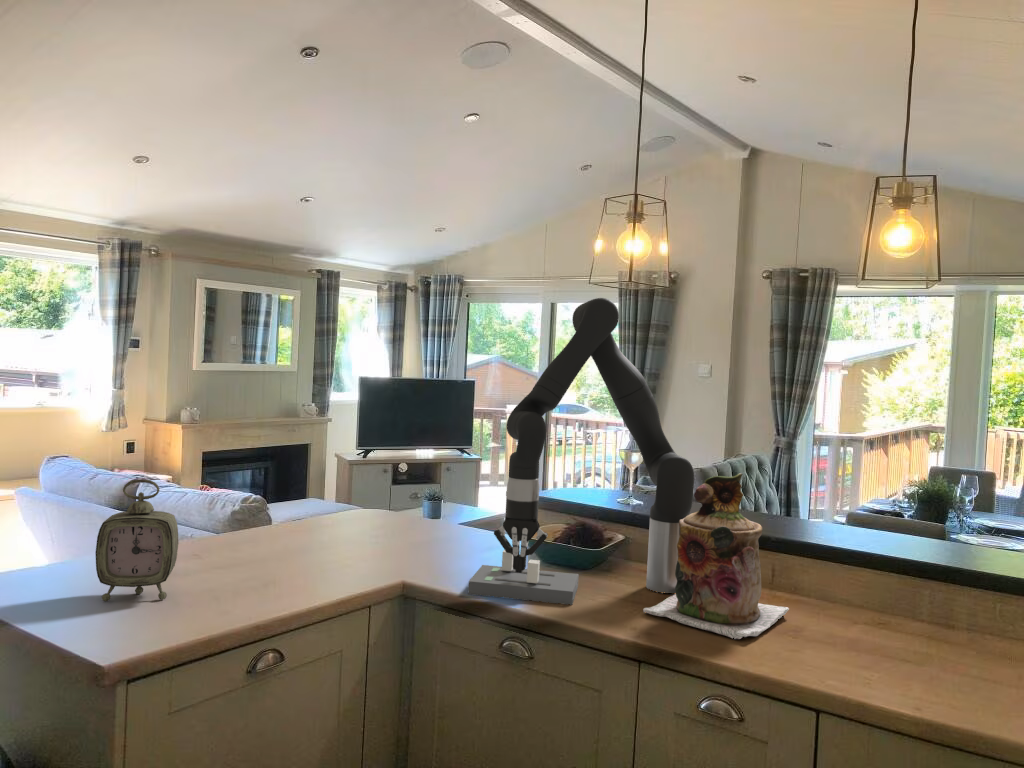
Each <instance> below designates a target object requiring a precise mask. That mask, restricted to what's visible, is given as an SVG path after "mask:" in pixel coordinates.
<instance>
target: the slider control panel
mask: <svg viewBox="0 0 1024 768" xmlns="http://www.w3.org/2000/svg"><path fill="white" fill-rule="evenodd" d="M579 576H580V575H579V573H571V572H562V571H561V572H560V571H549V570H540V569H539V581H538V583H529V582H527V568H525V569H524V570H523V571H522V573H519V572H515V569H513V570H512V571H504V570H502V566H497V565H489V564H481V566H480V567H479V568H478V570H477V571H475V573H474V574H473V576H472V577H471V578H470V579H469V580H468V588H467V594H468V595H471V596H472V595H473V596H474V595H475V596H481V595H482V596H483V597H491V596H494V597H493V598H500V597H504V598H503V599H510V598H513V599H512V600H519V599H522V601H529V600H532V601H531V602H539V601H542V603H548V602H549V604H550V603H551V604H558V603H561V604H560V605H568V604H570V605H569V606H573V604H574V601H575V597H576V594H577V591H578V588H579Z"/></svg>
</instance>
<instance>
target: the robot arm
mask: <svg viewBox="0 0 1024 768" xmlns="http://www.w3.org/2000/svg"><path fill="white" fill-rule="evenodd" d="M619 313H620V312H619V310H618V307H617V305H616V304H615V303H614V301H612V300H611V299H609V298H604V297H598V298H597V297H596V298H593V299H591V300H587V301H585V302H584V303H582V304H580V305H578V306H577V307H576V308H575V310H574V311H573V314H572V326H573V329H574V331H575V332H574V334H573V336H572V337H571V339H570V340H569V341H568V342H567V344H566V345H565V346H564V347H563V348H562V350H561V351H560V352H559V353H558V354H557V355H556V357H555V358H553V360H552V361H551V362H550V363H549V364H548V366H547V367H546V368H545V370H544V371H543V372H542V374H541V375H540V377H539V378H538V380H537V381H536V383H535V384H534V385H533V387H532V389H531V391H530V392H529V393H528V394H527V395H526V396H524V398H523V399H522V400H521V401H520V402H519V403H518V404H517V405H516V406H515V408H514V409H513V410H512V411H511V412H510V414H509V416H508V418H507V420H506V425H505V426H506V432H507V433H508V435H509V437H511V438H512V439H514V440H516V441H517V444H516V450H515V451H514V452H513V453H511V454H510V456H509V460H508V475H507V476H508V480H507V484H506V492H505V498H506V500H505V515H504V516H505V517H504V521H503V522H502V525H501V526H500V527H499V528H496V529H495V530H494V531H493V536H494V537H495V538H496V539H497V541H498V542H499V544H500V545H501V546H502V548H503V551H504V550H505V551H506V552H507V553H511V554H512V555H513V569H515V572H519V573H522V571H523V570H524V569H526V567H527V556H532V555H533V554H534V553H535V552H536V551H537V549H539V548H540V546H541V545H542V544H543V543H544V542H545V541H546V539H547V538H548V536H549V534H548V532H544V530H542V528H540V523H539V519H538V518H539V505H540V504H539V499H540V484H539V483H540V481H539V480H540V479H539V477H540V460H541V456H542V453H543V449H544V446H545V442H546V437H547V424H546V420H545V419H544V415H545V414H546V413H548V412H551V411H553V410H555V409H556V408H557V407H558V405H559V404H560V402H561V400H562V399H563V397H564V396H565V394H566V393H567V391H568V390H569V388H570V387H571V385H572V383H573V382H574V380H576V378H577V376H578V374H579V373H580V371H581V370H582V369H583V367H584V366H585V364H586V363H587V362H588V360H589V359H590V358H592V360H593V362H594V364H595V366H596V368H597V370H598V372H599V374H600V377H601V379H602V380H603V382H604V384H605V386H606V388H607V391H608V393H609V395H610V397H611V400H612V401H613V403H614V405H615V407H616V409H617V411H618V414H619V415H620V416H621V419H622V420H623V422H624V424H625V426H626V428H627V429H628V431H629V432H630V434H631V436H632V438H633V440H634V441H635V443H636V445H637V446H638V449H639V452H640V454H641V457H642V460H643V463H644V466H645V468H646V470H647V473H648V476H649V478H650V480H651V482H652V483H653V484H654V485H655V486H656V488H655V499H654V503H653V505H652V506H651V507H650V512H649V527H648V528H649V529H648V546H647V547H648V548H647V563H646V566H647V567H646V578H645V579H646V581H645V583H646V584H645V586H646V589H648V590H649V589H650V591H651V590H653V591H652V592H654V591H657V592H656V593H658V592H663V593H664V592H665V593H676V591H675V587H676V584H677V579H676V577H675V570H676V565H677V561H678V549H677V543H678V541H679V537H680V536H679V521H680V519H683V518H685V517H686V516H688V515H690V514H691V513H690V512H691V510H692V507H693V498H694V490H695V489H694V487H695V471H694V468H693V465H692V464H691V462H690V460H688V459H687V458H686V457H683V456H681V455H678V454H677V453H676V451H675V450H674V449H673V447H672V445H671V444H670V442H669V440H668V438H667V436H666V435H665V433H664V430H663V428H662V425H661V419H660V414H659V409H658V406H657V402H656V399H655V396H654V395H653V393H652V391H651V389H650V386H649V385H648V382H647V381H646V378H645V377H644V376H643V374H642V373H641V371H640V370H639V369H638V368H637V367H636V366H635V365H634V364H633V363H632V362H631V360H630V359H628V358H627V357H626V356H625V355H624V354H623V352H622V351H621V350H620V348H619V346H618V345H617V343H616V341H615V338H614V336H613V331H614V330H615V329H616V327H617V326H618V324H619V320H620V314H619ZM506 534H507V535H508V537H509V539H510V540H511V543H510V541H509V540H508V538H507V537H506V536H505V535H506ZM535 535H536V541H535V542H534V543H533V544H532V545H531V546H530V547H529V548H528V545H529V541H531V540H532V538H533V537H534V536H535ZM663 593H662V594H663Z"/></svg>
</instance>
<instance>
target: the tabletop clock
mask: <svg viewBox="0 0 1024 768" xmlns="http://www.w3.org/2000/svg"><path fill="white" fill-rule="evenodd" d="M137 483H138V484H139V483H140V484H141V483H145V484H150V485H153V486H154V488H156V492H155V493H153V494H150V495H145V493H144V492H142V491H141V492H139V493H138V494H137V495H132V494H129V493H128V492H127V491H126V489H127V487H129V486H130V485H132V484H137ZM122 492H123V495H125V496H126V498H129V499H133V500H135V501H133V502H131V503H130V504H129V506H128V507H127V509H126V511H121V512H117V513H114V514H112V515H110V516H109V517H108V518H106V519H105V520H104V521H103V522H102V523H101V525H100V527H99V529H98V533H97V538H96V546H95V568H96V574H97V575H96V576H97V579H98V580H99V582H100V584H103V585H105V586H110V587H109V588H108V591H107V592H106V593H103V594H102V595H101V600H102V601H103V602H108V601H110V600H111V597H112V596H111V593H112V592H113V590H114V588H115V587H123V588H124V587H126V588H135V587H136V588H135V589H134V593H135V594H137V595H141V594H143V592H144V587H149V586H155V585H156V588H157V590H158V592H159V593H158V594H157V596H158V599H159V600H160V601H161V600H165V599H166V598H167V595H168V594H167V592H166V591H163V588H162V584H163V583H165V582H166V581H167V580H168V578H169V576H170V575H171V574H172V572H173V569H174V567H175V566H176V561H177V558H178V551H179V550H178V549H179V527H178V521H177V519H176V516H175V515H174V514H172V513H170V512H166V511H160V510H159V511H158V510H155V508H154V505H153V504H152V503H151V502H150V501H146V500H149V499H152V498H155V497H156V496H158V495H159V493H160V487H159V485H158V484H157V483H156V482H155V481H153V480H151V479H145V478H143V479H138V478H137V479H132V480H130V481H128V482H126V484H124V486H123V487H122Z"/></svg>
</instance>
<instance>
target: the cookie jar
mask: <svg viewBox="0 0 1024 768" xmlns="http://www.w3.org/2000/svg"><path fill="white" fill-rule="evenodd" d="M742 476H743V473H740V472H739V473H738V474H736V475H733V476H724V475H713V476H711V477H708V478H706V479H705V481H704V482H703V483H702V484H700V485H699V486H698V487H697V488H696V489H695V492H693V498H695V500H696V502H698V503H700V504H701V506H700V508H699V510H697V511H695V512H692V513H689V515H688V516H686V517H685V518H683V519H680V521H679V536H680V537H679V541H678V543H677V549H678V561H677V565H676V570H675V577H676V579H677V584H676V587H675V591H676V594H672V595H670V596H668V597H666V599H664V600H663V601H660V602H659V603H657V604H656V605H653V606H650V607H644V608H643V609H642V611H643V613H644V614H649V615H653V616H657V617H660V618H661V617H665V618H669V619H671V620H673V621H676V622H678V623H680V624H682V625H686V626H690V627H693V628H698V629H700V630H703V631H704V630H705V631H708V632H711V633H714V634H715V633H716V634H718V635H722V636H726V637H728V638H731V639H733V638H734V639H733V640H741V639H742V638H743V637H744V638H747V637H758V636H759V635H760V634H762V633H763V632H764V631H766V630H767V629H769V628H770V627H771V626H772V625H774V624H775V623H777V621H778V619H779V620H780V619H781V618H783V617H782V616H783V615H785V616H786V613H788V611H789V610H790V608H789V607H787V606H781V605H780V606H779V605H778V606H777V605H774V604H773V605H772V604H763V603H759V601H760V599H761V597H762V596H761V595H762V575H761V573H762V571H761V567H762V566H761V561H760V555H759V554H760V553H759V547H760V545H759V539H760V537H761V536H762V534H763V526H762V525H761V524H760V523H758V522H755V521H751V520H750V519H748V518H746V517H744V515H743V513H741V511H740V505H741V503H742V500H743V497H744V493H743V492H742V491H741V489H742V487H743V486H742V484H741V479H742ZM645 612H646V613H645Z"/></svg>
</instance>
